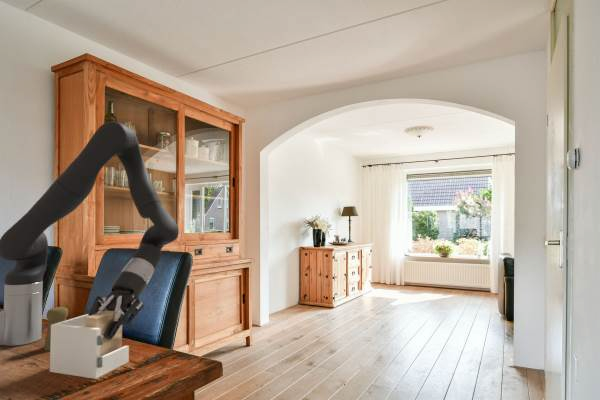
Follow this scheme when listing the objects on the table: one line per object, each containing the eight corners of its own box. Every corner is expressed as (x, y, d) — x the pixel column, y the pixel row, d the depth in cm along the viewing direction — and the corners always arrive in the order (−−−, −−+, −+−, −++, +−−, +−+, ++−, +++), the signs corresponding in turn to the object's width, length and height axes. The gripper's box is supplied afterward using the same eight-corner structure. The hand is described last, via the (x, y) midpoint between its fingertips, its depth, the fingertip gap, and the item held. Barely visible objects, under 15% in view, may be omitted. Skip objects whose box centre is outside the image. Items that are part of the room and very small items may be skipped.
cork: (57, 351, 103) (57, 310, 103) (38, 349, 104) (39, 309, 104) (74, 344, 109) (75, 305, 109) (56, 342, 110) (57, 304, 110)
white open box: (86, 356, 99) (86, 314, 100) (132, 362, 95) (132, 318, 95) (49, 371, 89) (50, 324, 90) (99, 379, 85) (100, 330, 85)
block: (110, 356, 96) (111, 308, 97) (121, 357, 95) (122, 310, 96) (83, 368, 89) (85, 316, 89) (95, 370, 87) (96, 318, 88)
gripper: (105, 269, 102) (64, 326, 90) (149, 271, 98) (113, 331, 86) (119, 285, 107) (83, 341, 95) (162, 288, 103) (130, 347, 91)
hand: (97, 336), depth 90 cm, fingers open, 5 cm apart
